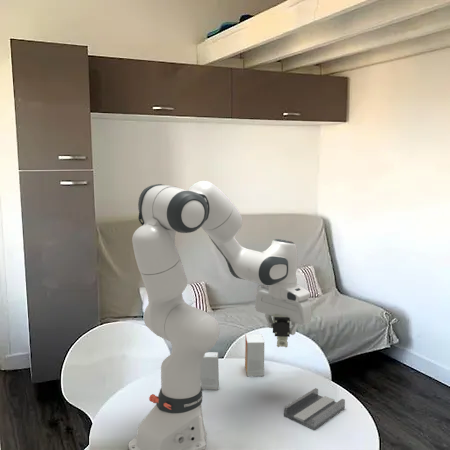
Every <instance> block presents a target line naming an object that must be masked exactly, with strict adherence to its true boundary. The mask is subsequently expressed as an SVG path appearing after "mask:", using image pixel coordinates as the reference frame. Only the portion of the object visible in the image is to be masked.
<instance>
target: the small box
mask: <svg viewBox="0 0 450 450" xmlns="http://www.w3.org/2000/svg"><path fill="white" fill-rule="evenodd" d="M244 337H245V339H244V341H245V343H244V344H245V345H244V348H245V352H244V362H245V363H244V368H245V372H246V377H264V376H265V340H264V336H263V333H248V334H247V333H246V334H245V336H244Z"/></svg>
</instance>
